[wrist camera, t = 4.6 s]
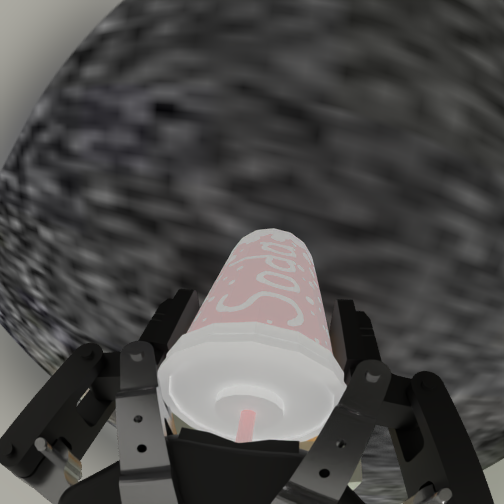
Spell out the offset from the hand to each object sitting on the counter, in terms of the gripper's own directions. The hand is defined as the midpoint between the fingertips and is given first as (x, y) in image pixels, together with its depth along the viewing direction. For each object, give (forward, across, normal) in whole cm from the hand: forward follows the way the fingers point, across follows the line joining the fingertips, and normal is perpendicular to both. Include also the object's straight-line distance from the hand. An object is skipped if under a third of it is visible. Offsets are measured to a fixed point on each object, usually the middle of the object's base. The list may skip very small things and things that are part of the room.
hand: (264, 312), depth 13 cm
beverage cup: (+4, 0, 0) cm, 4 cm away
